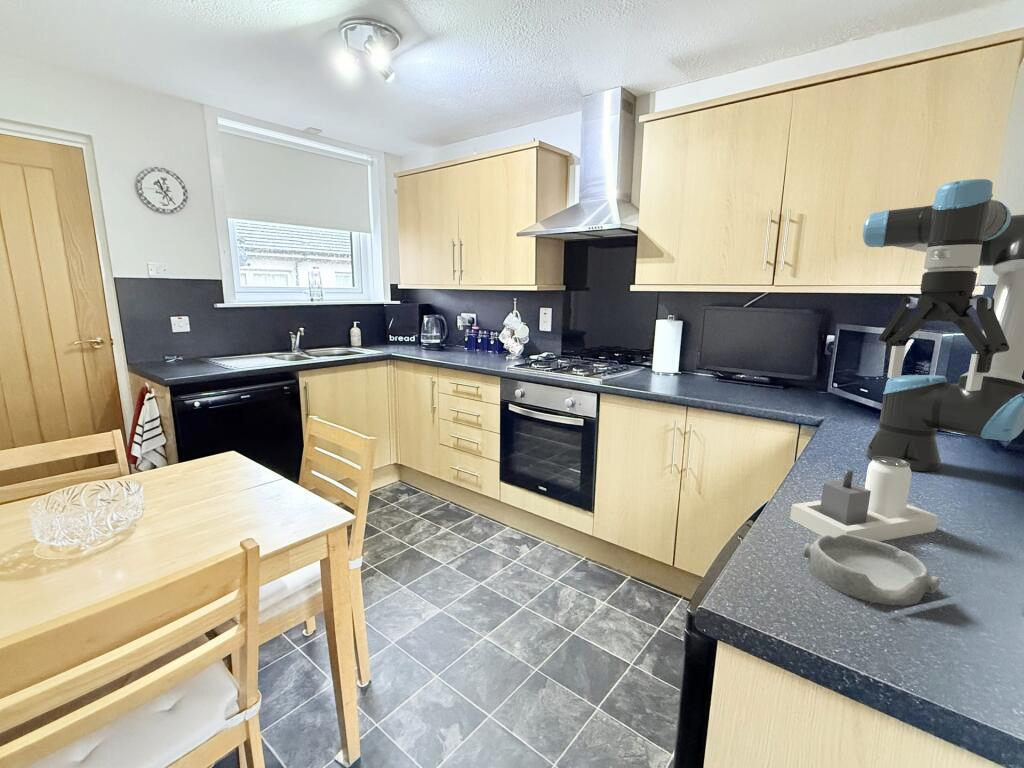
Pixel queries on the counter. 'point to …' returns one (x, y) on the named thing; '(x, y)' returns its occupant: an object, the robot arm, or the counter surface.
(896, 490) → the can
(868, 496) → the seated block
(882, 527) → the white flat tray
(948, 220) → the robot arm
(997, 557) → the counter surface
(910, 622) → the counter surface
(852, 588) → the dish
